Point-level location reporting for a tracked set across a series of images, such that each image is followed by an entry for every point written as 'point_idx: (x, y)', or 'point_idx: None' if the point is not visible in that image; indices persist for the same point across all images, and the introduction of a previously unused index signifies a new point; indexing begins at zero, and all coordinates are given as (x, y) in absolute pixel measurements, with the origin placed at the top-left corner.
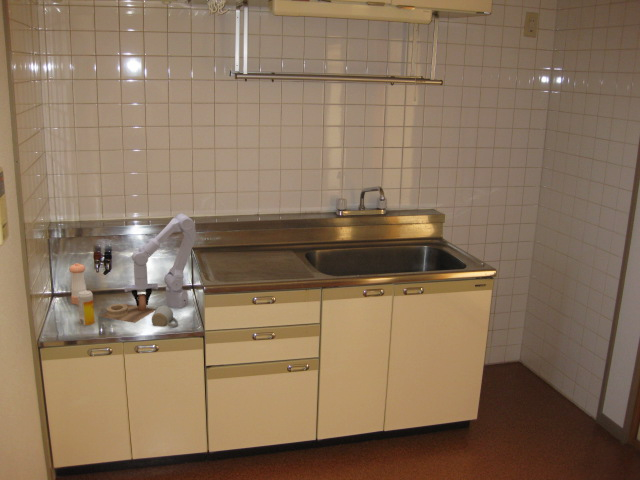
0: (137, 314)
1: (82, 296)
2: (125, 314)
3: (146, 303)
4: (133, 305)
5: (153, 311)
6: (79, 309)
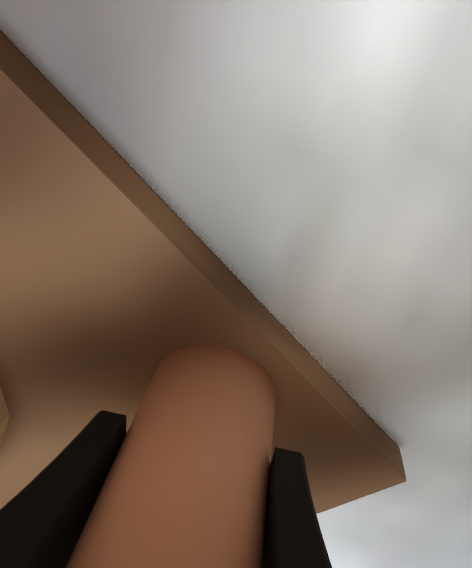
0: None
1: None
2: None
3: None
4: (90, 167)
5: (331, 507)
6: None
